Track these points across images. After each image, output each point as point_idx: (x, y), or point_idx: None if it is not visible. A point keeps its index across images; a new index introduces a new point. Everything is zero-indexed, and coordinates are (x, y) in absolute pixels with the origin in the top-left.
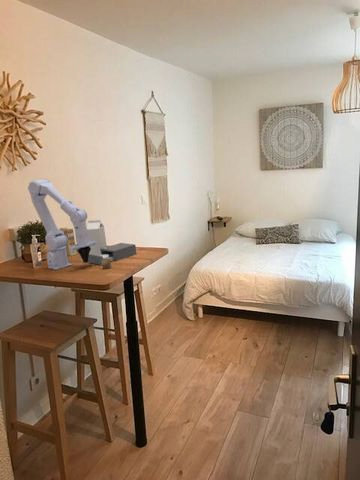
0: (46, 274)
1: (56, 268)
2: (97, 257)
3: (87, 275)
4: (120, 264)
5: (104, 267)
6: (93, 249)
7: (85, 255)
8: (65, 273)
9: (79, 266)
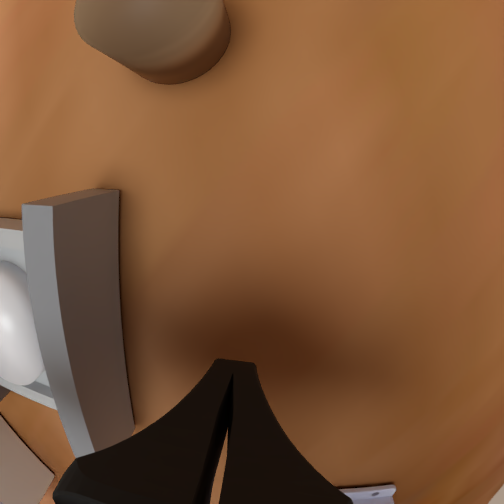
0: (481, 447)
1: (385, 492)
2: (71, 299)
3: (477, 59)
4: (47, 21)
5: (225, 12)
6: (17, 486)
7: (252, 428)
8: (475, 355)
9: None
